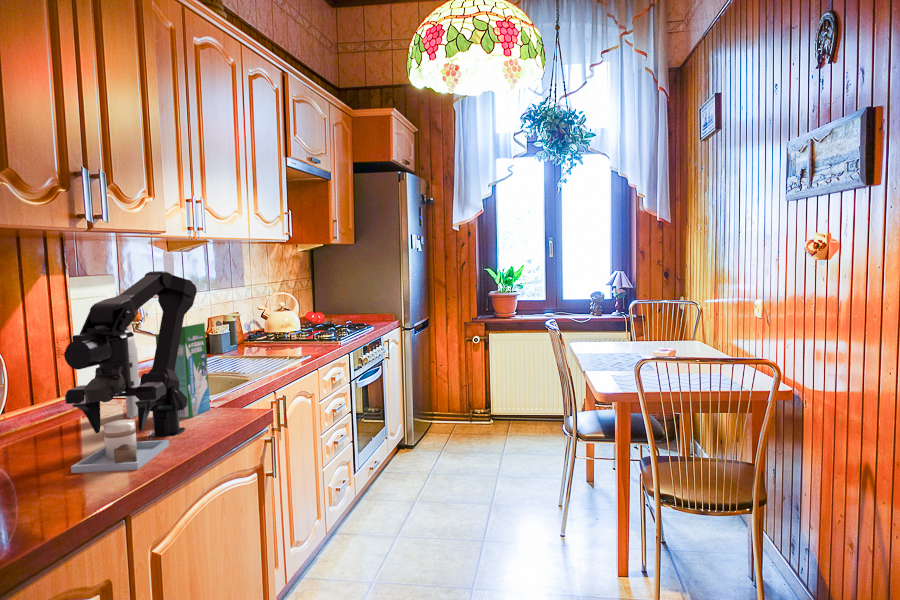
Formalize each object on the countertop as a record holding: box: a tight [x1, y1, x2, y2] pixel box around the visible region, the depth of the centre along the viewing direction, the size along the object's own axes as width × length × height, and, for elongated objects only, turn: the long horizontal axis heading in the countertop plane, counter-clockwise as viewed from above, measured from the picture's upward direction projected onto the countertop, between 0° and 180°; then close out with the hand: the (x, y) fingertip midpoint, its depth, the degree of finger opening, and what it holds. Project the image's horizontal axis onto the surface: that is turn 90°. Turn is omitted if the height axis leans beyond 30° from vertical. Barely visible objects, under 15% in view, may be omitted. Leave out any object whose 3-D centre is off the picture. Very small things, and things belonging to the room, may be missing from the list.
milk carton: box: [155, 322, 211, 419], centre depth 162 cm, size 9×9×25 cm
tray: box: [70, 439, 170, 474], centre depth 125 cm, size 15×13×2 cm
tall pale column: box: [124, 336, 140, 420], centre depth 163 cm, size 11×4×22 cm, turn 16°
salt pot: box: [114, 444, 137, 463], centre depth 121 cm, size 4×4×4 cm
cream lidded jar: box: [102, 419, 138, 460], centre depth 127 cm, size 6×6×7 cm
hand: (119, 431), depth 127 cm, fingers open, 9 cm apart
